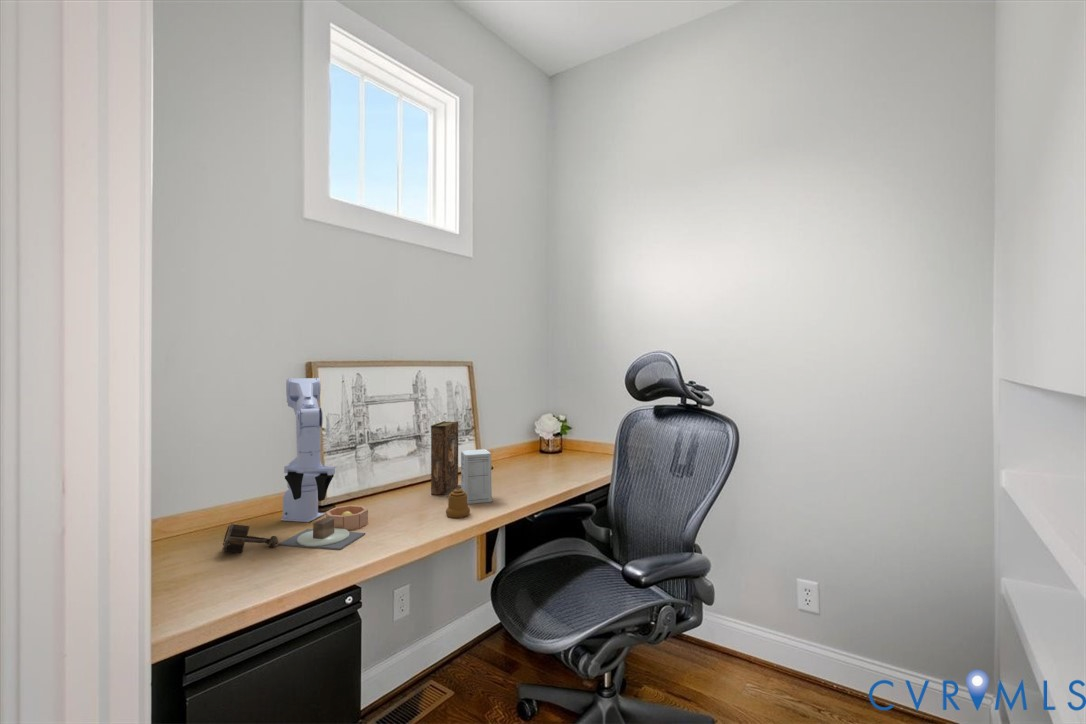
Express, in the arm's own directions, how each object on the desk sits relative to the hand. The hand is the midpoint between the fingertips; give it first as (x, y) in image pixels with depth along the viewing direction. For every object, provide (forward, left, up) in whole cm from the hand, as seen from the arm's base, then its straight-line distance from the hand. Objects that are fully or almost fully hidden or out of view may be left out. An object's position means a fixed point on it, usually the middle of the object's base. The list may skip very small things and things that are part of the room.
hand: (309, 499), depth 142 cm
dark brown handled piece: (-7, -15, -10) cm, 19 cm away
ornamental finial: (+35, +24, -10) cm, 44 cm away
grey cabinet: (+35, +42, -10) cm, 56 cm away
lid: (+7, -4, -9) cm, 12 cm away
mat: (+7, -4, -9) cm, 12 cm away
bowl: (+6, +9, -9) cm, 14 cm away
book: (+19, +53, -10) cm, 57 cm away
